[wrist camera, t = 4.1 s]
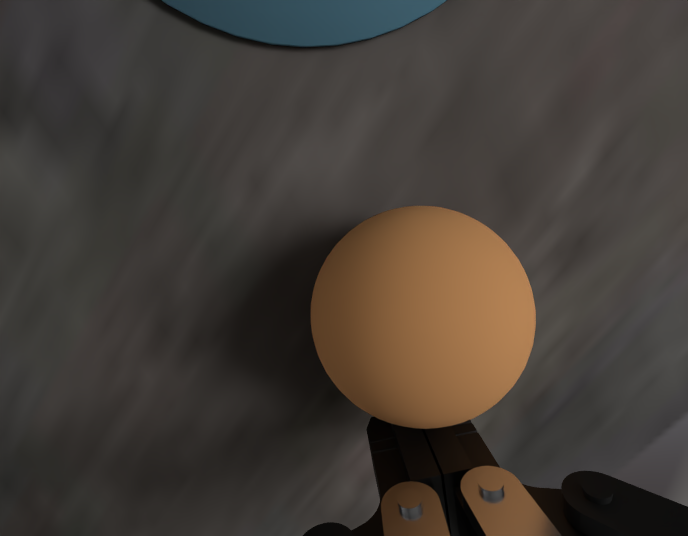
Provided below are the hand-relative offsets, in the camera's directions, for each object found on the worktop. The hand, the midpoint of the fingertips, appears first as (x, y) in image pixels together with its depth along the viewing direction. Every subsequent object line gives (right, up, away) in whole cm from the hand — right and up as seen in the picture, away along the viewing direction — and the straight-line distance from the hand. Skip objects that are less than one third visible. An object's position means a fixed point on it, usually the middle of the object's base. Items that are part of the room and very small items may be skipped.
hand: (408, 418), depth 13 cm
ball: (0, +3, -2) cm, 4 cm away
